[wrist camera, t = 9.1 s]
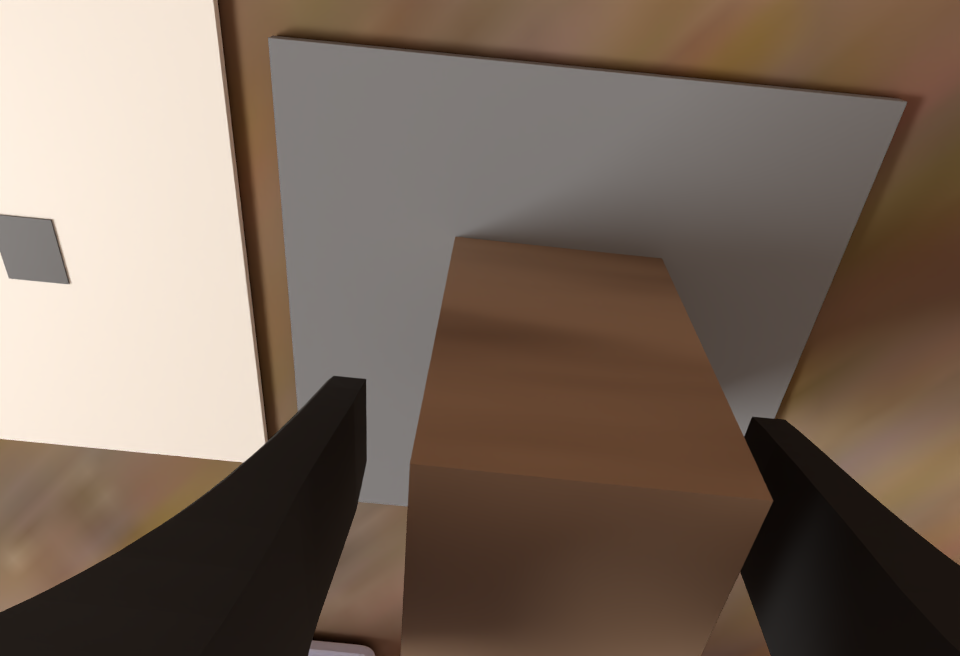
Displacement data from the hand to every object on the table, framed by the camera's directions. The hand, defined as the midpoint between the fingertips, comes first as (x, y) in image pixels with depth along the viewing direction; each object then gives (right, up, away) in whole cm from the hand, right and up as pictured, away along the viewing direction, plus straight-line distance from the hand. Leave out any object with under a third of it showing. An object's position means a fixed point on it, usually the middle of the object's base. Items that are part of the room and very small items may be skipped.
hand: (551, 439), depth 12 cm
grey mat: (0, +2, +3) cm, 4 cm away
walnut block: (0, +2, +3) cm, 4 cm away
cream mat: (-13, +4, +3) cm, 14 cm away
